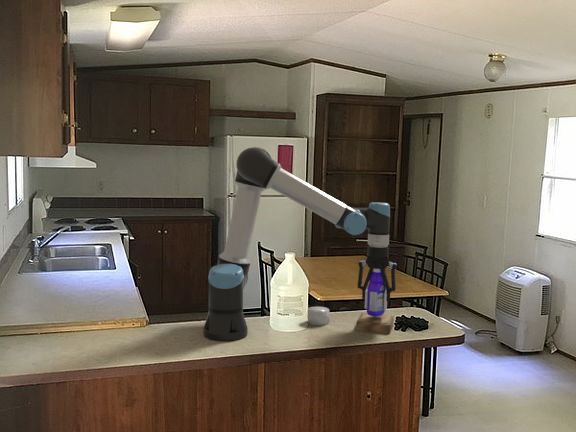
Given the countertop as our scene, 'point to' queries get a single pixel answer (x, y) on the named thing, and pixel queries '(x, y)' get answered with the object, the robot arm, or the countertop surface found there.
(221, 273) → the robot arm
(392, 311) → the countertop surface
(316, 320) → the grey rounded block
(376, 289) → the bottle
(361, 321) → the base
